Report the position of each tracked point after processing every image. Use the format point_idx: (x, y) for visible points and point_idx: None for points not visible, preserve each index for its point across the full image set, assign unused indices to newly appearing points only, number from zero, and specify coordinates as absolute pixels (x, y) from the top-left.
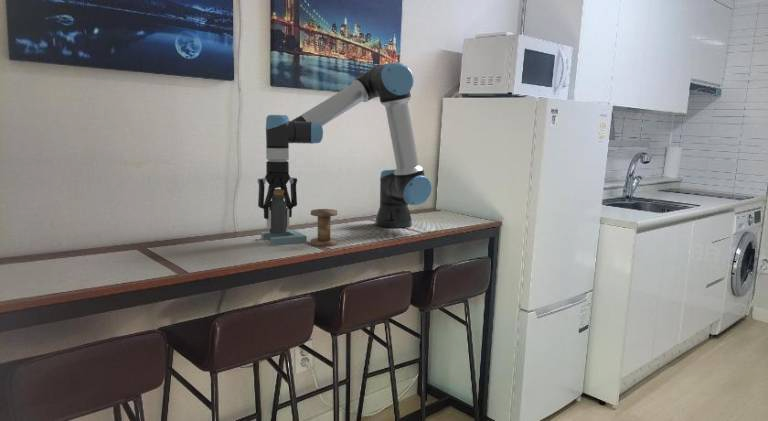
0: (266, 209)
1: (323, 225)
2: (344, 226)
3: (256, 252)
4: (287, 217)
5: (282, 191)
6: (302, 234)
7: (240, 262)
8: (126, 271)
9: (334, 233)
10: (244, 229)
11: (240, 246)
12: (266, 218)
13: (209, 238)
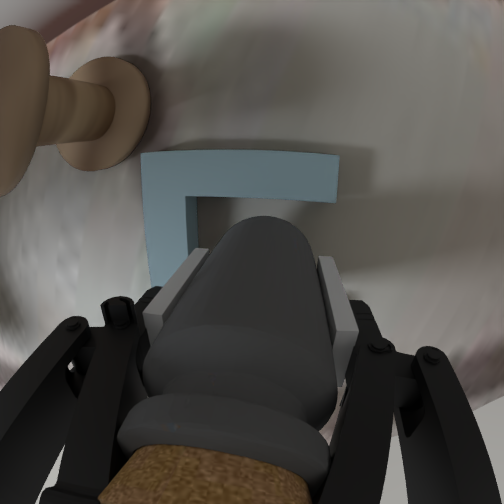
0: (381, 337)
1: (53, 76)
2: (25, 342)
3: (434, 81)
4: (186, 276)
5: (133, 494)
6: (146, 201)
7: (490, 10)
8: None
9: (40, 277)
10: None
11: (449, 224)
12: (356, 302)
13: None
